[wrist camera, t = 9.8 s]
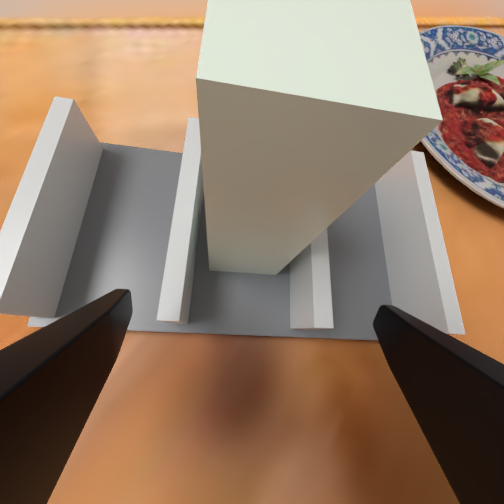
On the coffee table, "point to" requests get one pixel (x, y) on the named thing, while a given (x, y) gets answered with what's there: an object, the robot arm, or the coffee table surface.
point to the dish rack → (196, 247)
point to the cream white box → (302, 118)
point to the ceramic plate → (468, 106)
